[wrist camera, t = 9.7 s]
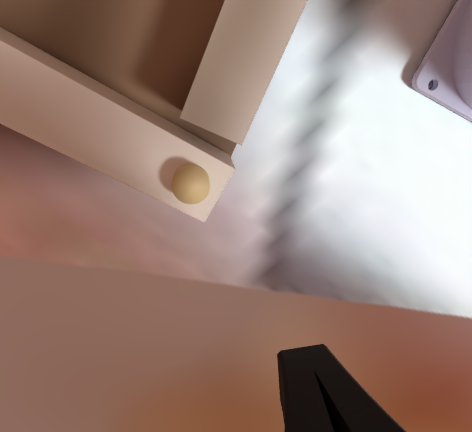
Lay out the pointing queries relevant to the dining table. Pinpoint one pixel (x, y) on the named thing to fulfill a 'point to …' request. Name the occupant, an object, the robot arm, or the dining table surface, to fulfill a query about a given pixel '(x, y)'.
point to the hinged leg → (107, 130)
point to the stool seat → (169, 53)
